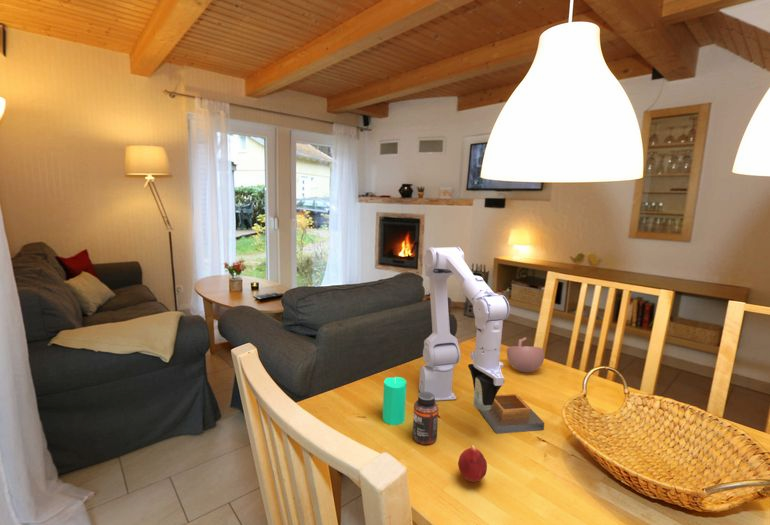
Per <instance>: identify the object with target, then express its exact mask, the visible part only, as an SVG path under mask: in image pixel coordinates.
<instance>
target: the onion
mask: <svg viewBox="0 0 770 525" xmlns="http://www.w3.org/2000/svg"><path fill="white" fill-rule="evenodd" d="M458 458H459V459H458V462H457V466H458V471H459V472H460V474H461V475H462V477H464V479H465V480H467V481H469V482H472V483H473V482H474V483H475V482H479V481H482V479H483V478H484V477H485V476H486V474H487V471H488V463H487V459H486V458H485V455H483V453H482V452H481V451H480V450H479V449H477V448H476V447H475V445H474V444H471V446H470V447H469V448H467V449H465V450H463V452H462V453H460V455H459V457H458Z"/></svg>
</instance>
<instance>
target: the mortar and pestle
mask: <svg viewBox="0 0 770 525" xmlns="http://www.w3.org/2000/svg"><path fill="white" fill-rule="evenodd" d="M525 341H527V337H525V336H524V337H523V338H519V339H518V344H517V346H508V347H507V348H506V357H507V360H508V362H509V364H510V365H511V366H512V368H514V369H515V370H517V371H519V372H521V373H533V372H535V371H537V370H538V369H540V368H541V367H542V365H543V364H544V360H545V350H544V348H542V347H539V346H528V345H524V346H523V342H525Z"/></svg>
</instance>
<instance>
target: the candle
mask: <svg viewBox="0 0 770 525" xmlns="http://www.w3.org/2000/svg"><path fill="white" fill-rule="evenodd" d="M406 400H407V380H406V379H405V378H404V377H399V376H394V377H385V379H384V381H383V400H382V421H383V422H384V423H385V424H387V425H390V426H399V425H401V424H403V423H404V422H405V421H406Z"/></svg>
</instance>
